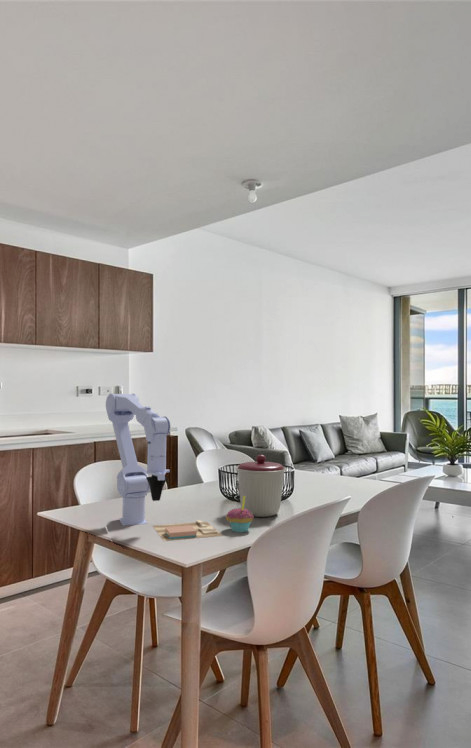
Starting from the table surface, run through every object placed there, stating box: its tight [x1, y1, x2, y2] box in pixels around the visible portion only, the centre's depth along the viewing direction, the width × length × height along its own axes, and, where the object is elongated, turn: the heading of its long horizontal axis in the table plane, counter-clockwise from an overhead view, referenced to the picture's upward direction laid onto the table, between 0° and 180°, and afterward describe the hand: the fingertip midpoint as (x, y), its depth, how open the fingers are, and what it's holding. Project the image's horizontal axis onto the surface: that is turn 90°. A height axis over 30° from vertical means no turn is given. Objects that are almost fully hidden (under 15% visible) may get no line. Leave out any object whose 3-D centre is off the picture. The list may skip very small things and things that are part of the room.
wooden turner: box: [195, 519, 219, 534], centre depth 168 cm, size 14×4×1 cm, turn 19°
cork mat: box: [152, 521, 224, 542], centre depth 164 cm, size 18×18×1 cm
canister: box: [235, 454, 287, 518], centre depth 190 cm, size 18×18×21 cm
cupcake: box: [225, 494, 255, 533], centre depth 166 cm, size 9×8×12 cm
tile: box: [165, 525, 197, 539], centre depth 159 cm, size 2×8×7 cm
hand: (156, 500), depth 164 cm, fingers closed
